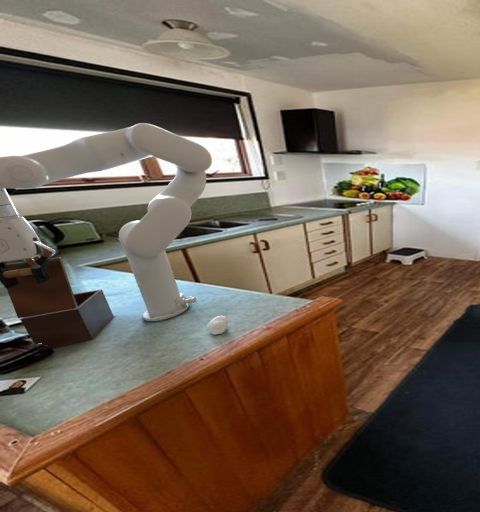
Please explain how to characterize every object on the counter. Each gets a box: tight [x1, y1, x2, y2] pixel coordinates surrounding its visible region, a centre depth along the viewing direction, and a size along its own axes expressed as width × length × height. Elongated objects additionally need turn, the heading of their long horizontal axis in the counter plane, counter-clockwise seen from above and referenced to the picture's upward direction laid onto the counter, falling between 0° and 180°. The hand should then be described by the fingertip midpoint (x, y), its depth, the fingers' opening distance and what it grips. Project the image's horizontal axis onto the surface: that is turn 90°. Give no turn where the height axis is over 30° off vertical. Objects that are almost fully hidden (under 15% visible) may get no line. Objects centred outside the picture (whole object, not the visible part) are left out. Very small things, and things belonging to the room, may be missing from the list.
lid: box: [3, 257, 78, 319], centre depth 71 cm, size 14×12×5 cm
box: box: [19, 289, 115, 352], centre depth 82 cm, size 14×12×10 cm
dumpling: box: [206, 315, 229, 336], centre depth 81 cm, size 7×5×4 cm
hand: (28, 283), depth 69 cm, fingers closed on lid, 5 cm apart
